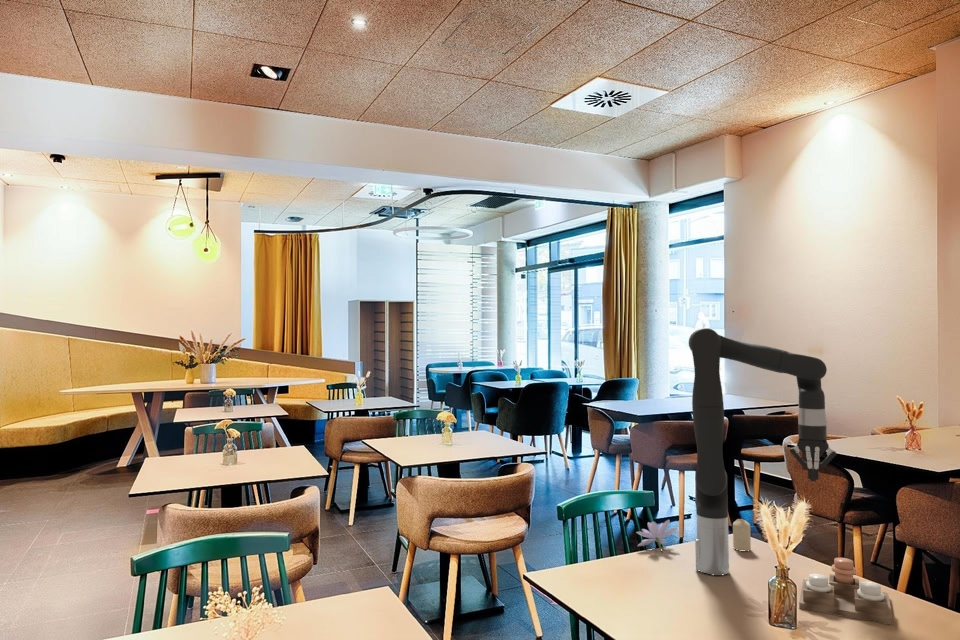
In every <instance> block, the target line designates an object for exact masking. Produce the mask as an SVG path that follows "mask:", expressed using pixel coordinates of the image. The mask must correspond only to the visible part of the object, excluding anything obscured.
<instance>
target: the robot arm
mask: <svg viewBox="0 0 960 640" xmlns="http://www.w3.org/2000/svg"><path fill="white" fill-rule="evenodd" d="M688 347H689V349H690V351H691V354H692V359H693V367H694V368H693V369H694V379H693V386H692V398H691V400H692V401H691V405H692V406H691V407H692V421H693V430H694V436H695V443H696V451H697V454H696V455H697V457H696V472H695V483H696V484H695V487H696V498H695V499H696V500H695V502H696V503H695V505H696V506H695V508H696V511H695V513H696V539H695V544H694V545H695V571H696V570H700V571H702V572H704V573H708V574H714V575H722V574H727V573H728V572H730V564H729V561H730V560H729V559H730V557H729V554H730V553H729V507H728V506H729V505H728V504H729V502H728V501H729V500H728V499H729V497H728V473H727V472H726V469H725V464H724V456H723V455H724V454H723V445H724V444H723V443H724V441H723V440H724V432H725V407H724V406H725V405H724V396H723V395H724V394H723V387H722V380H721V376H720V373H721V372H720V370H721V369H720V368H721V367H720V365H721V364H720V363H721V359H727V360H732V361H736V362H739V363H743V364H746V365H749V366H753V367H755V368H759V369H763V370H766V371H769V372H776V373H779V374H786V375H789V376H790V375H791V376H793V377H795V378H796V382H797V383H796V384H797V389H798V415H797V421H798V423H797V424H798V425H797V427H798V441H797V443H796V445H795V446H793V447H791V448H790V450H789V452H790V453H791V454H792V456H794V458H795V459H796V461H797V462H798V463H799V464H800V465H801V466H802V467H804V468H807V478H808V480H810V482H814V483H815V482H816V483H817V481H818V480H819V479H820V477H819V473H820V472H819V470H820V469H822V468H823V469H824V468H825V467H826V466H827V465H828V464H829V463H830V462H831V461H833V459H834V458H835V457H836V456H837V451H835V450H833V449H832V448H830V447H829V446H830V445H829V444H828V441H827V440H828V439H827V413H826V398H825V397H826V396H825V393H824V390H823V389H822V379H823V378H824V377H825V376H826V374H827V365H826V364H825V362H824V361H823V360H822V359H820V358H817V357H814V356H811V355H805V354H799V353H793V352H790V351H787V350H784V349H780V348H776V347H773V346H772V347H771V346H768V345H767V346H766V345H761V344H755V343H750V342H749V343H748V342H745V341H744V342H742V341H740V340H736V339H735V340H734V339H732V338H728V337H726V336H723V335H721V334H719V333H717V331H715V330H714V329H712V328H707V327H702V328H698V329H697V330H694V331H693V332H692V334H690V336H689V339H688ZM800 452H801V453H802V455H804V456H805V458H806V460H804V458H803V456H801V455H800ZM825 453H826V455H827V456H826V457H825V458H824V459H823V460H822V462H820V458H821V457H822V456H823V455H824V454H825ZM812 458H814V459H812ZM813 460H814V462H813ZM702 572H701V573H702ZM704 573H703V574H704ZM708 574H707V575H708ZM728 574H729V573H728ZM728 574H727V575H728ZM714 575H713V576H714ZM722 576H723V575H722Z"/></svg>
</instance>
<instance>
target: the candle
mask: <svg viewBox="0 0 960 640" xmlns="http://www.w3.org/2000/svg"><path fill="white" fill-rule="evenodd" d="M732 537H733V538H732V541H733V542H732V543H733V544H732V546H733V547H734V548H735V549H738V550H745V551H748V550H750V551H751V550H752V543H751V524H750V523H749V522H748V521H747V520H745V519H743V518H737V519H736V520H735V521H733V523H732ZM734 548H733V549H734ZM735 549H734V550H735ZM748 552H749V551H748Z"/></svg>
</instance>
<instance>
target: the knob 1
mask: <svg viewBox="0 0 960 640" xmlns="http://www.w3.org/2000/svg"><path fill="white" fill-rule="evenodd" d="M808 580H809V581H807V582H806V587H807V588H808V589H810V590H813V591H816V592H825V593H828V592H830V591H831V585H830V584H828V583H829V577H828V576H827V575H825V574H824V575H823V574H820V573H809V574H808Z"/></svg>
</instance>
